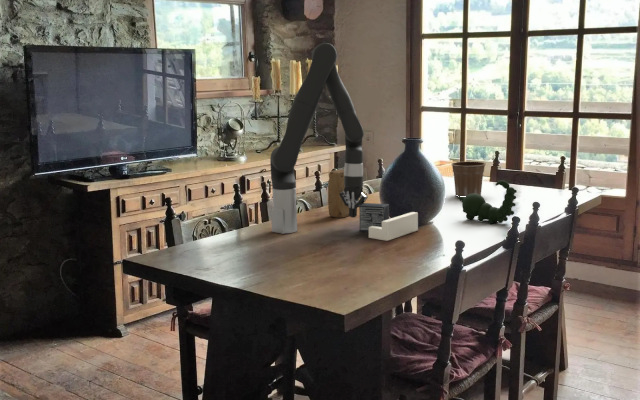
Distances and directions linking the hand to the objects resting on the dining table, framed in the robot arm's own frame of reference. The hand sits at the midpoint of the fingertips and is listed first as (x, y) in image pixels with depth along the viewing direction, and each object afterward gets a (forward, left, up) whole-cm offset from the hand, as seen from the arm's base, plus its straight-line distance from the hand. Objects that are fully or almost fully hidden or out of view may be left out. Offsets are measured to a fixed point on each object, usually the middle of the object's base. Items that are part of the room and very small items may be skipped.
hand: (353, 217), depth 274 cm
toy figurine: (+39, -37, -4) cm, 54 cm away
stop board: (0, -19, -4) cm, 20 cm away
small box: (0, -10, -4) cm, 11 cm away
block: (+14, +18, -4) cm, 23 cm away
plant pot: (+85, -4, -4) cm, 86 cm away
